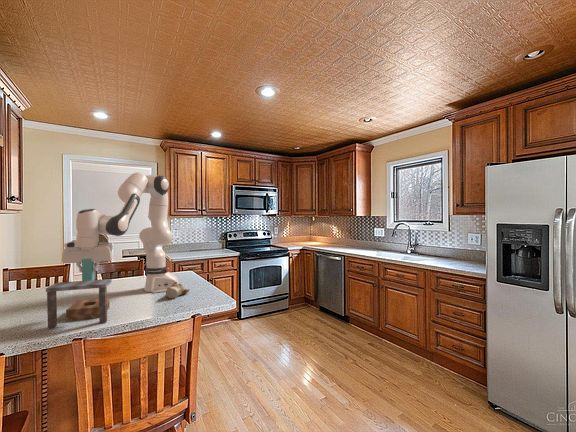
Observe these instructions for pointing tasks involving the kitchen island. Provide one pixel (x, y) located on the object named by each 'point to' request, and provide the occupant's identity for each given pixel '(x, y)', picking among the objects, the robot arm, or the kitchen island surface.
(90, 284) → the grey miniature side table
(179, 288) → the ceramic sculpture
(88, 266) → the peg
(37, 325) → the kitchen island surface
